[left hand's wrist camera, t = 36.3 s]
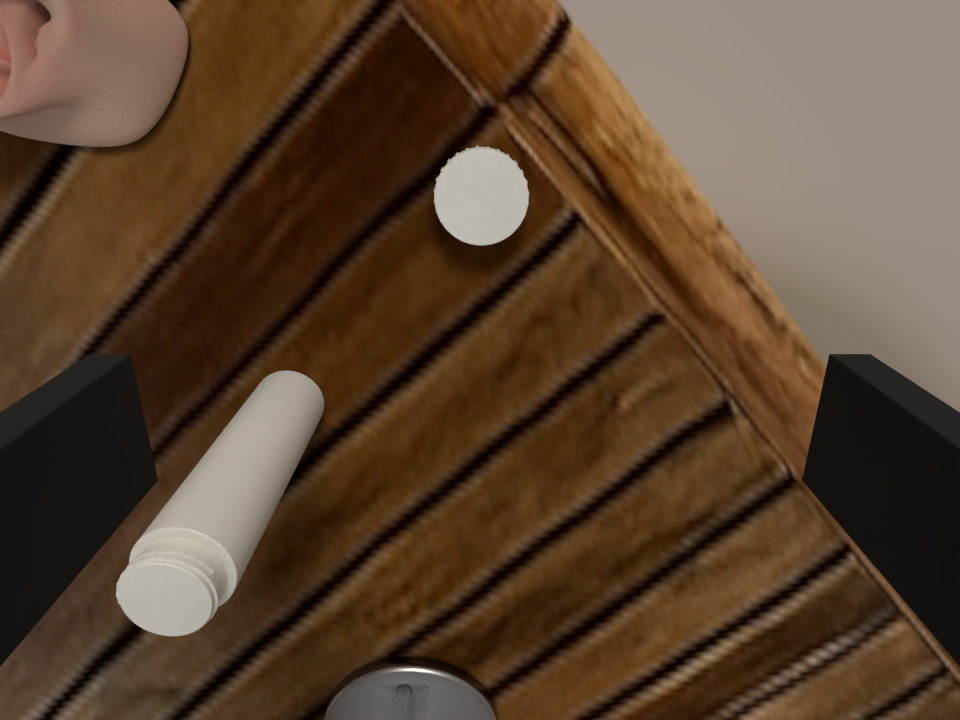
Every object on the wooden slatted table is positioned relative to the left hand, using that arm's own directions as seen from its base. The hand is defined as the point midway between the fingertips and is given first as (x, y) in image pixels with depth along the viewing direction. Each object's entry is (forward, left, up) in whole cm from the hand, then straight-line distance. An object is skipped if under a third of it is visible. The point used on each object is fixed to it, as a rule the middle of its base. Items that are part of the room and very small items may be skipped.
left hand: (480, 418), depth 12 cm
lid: (0, 0, -29) cm, 29 cm away
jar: (-20, 0, -30) cm, 36 cm away
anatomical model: (-10, +23, -30) cm, 39 cm away
